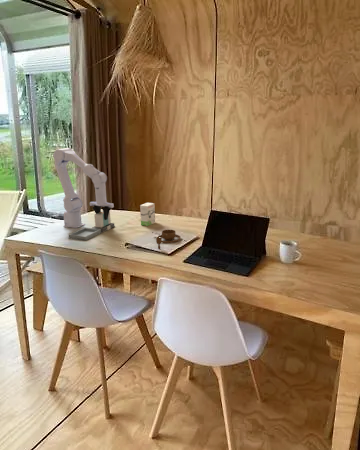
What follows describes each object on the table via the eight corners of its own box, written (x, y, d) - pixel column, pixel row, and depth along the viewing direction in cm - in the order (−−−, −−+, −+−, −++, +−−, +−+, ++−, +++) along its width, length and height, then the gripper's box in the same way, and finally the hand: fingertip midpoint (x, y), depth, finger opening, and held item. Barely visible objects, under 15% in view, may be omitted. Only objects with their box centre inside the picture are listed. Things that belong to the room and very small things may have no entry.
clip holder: (91, 231, 202) (91, 227, 201) (104, 225, 212) (103, 222, 212) (103, 232, 199) (102, 228, 199) (114, 226, 210) (114, 223, 209)
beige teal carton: (95, 226, 202) (94, 214, 200) (104, 222, 210) (103, 210, 208) (101, 227, 200) (100, 214, 198) (110, 223, 208) (109, 211, 206)
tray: (69, 238, 191) (68, 234, 190) (85, 230, 202) (84, 227, 202) (85, 240, 186) (85, 236, 186) (101, 232, 198) (101, 229, 198)
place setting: (189, 241, 184) (189, 230, 182) (159, 252, 170) (159, 240, 169) (166, 234, 196) (165, 223, 194) (136, 243, 182) (135, 232, 181)
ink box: (148, 226, 209) (147, 206, 206) (140, 225, 211) (139, 205, 208) (155, 222, 217) (154, 202, 213) (148, 221, 219) (147, 202, 215)
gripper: (85, 195, 200) (87, 219, 203) (107, 197, 194) (109, 222, 198) (93, 193, 206) (95, 216, 210) (115, 194, 200) (116, 218, 204)
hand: (102, 219), depth 204 cm, fingers closed on beige teal carton, 4 cm apart
